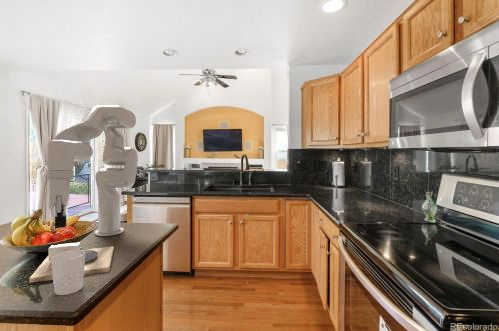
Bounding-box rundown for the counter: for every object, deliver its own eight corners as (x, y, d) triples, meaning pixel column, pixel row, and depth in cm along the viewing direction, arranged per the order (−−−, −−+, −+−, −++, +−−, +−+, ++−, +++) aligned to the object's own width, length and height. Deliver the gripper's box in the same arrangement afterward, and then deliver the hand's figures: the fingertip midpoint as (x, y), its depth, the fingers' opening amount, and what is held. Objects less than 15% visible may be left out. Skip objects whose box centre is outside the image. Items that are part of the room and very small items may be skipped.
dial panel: (113, 250, 106) (113, 238, 106) (109, 271, 87) (109, 258, 87) (50, 257, 98) (49, 245, 97) (29, 283, 78) (29, 268, 78)
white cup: (48, 299, 70) (47, 262, 70) (56, 285, 77) (55, 251, 77) (82, 293, 73) (82, 257, 73) (87, 280, 80) (87, 248, 80)
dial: (99, 250, 100) (99, 236, 100) (95, 262, 89) (95, 247, 89) (54, 256, 94) (54, 241, 94) (44, 269, 83) (44, 252, 83)
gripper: (51, 174, 98) (50, 223, 98) (43, 176, 85) (43, 233, 85) (75, 174, 101) (75, 221, 102) (71, 176, 88) (71, 230, 89)
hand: (60, 227), depth 93 cm, fingers closed
